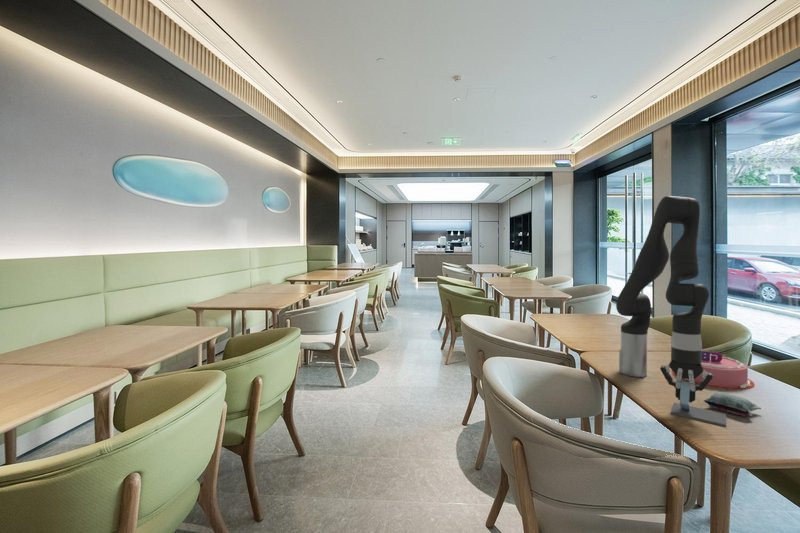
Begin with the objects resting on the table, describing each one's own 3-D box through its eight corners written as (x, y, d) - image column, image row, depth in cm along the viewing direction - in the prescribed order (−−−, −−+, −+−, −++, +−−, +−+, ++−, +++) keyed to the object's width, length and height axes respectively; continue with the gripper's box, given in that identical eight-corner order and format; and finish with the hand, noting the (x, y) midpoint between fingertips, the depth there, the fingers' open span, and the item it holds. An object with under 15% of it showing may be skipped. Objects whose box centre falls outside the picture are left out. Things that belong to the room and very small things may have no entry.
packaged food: (713, 401, 123) (713, 386, 123) (761, 414, 113) (761, 398, 112) (702, 407, 118) (703, 392, 118) (751, 422, 108) (752, 406, 108)
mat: (670, 413, 114) (670, 411, 114) (673, 404, 121) (673, 402, 121) (726, 426, 105) (726, 424, 105) (726, 415, 112) (726, 413, 112)
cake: (744, 373, 148) (744, 348, 148) (764, 395, 127) (765, 365, 126) (668, 364, 161) (668, 340, 161) (675, 382, 140) (675, 355, 139)
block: (680, 408, 116) (679, 402, 112) (682, 387, 119) (681, 381, 115) (689, 410, 115) (688, 404, 111) (690, 388, 117) (689, 382, 114)
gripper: (657, 345, 116) (657, 398, 117) (715, 352, 107) (714, 410, 107) (660, 340, 121) (660, 391, 122) (715, 347, 112) (714, 402, 113)
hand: (685, 400), depth 115 cm, fingers closed on block, 2 cm apart
